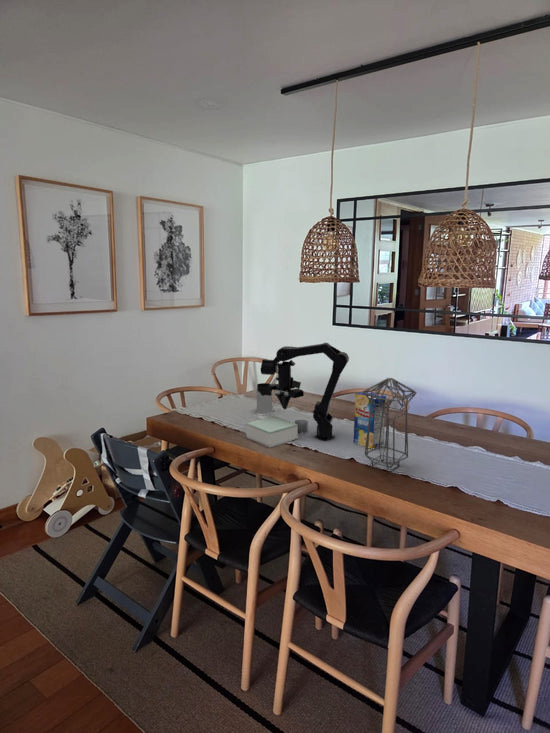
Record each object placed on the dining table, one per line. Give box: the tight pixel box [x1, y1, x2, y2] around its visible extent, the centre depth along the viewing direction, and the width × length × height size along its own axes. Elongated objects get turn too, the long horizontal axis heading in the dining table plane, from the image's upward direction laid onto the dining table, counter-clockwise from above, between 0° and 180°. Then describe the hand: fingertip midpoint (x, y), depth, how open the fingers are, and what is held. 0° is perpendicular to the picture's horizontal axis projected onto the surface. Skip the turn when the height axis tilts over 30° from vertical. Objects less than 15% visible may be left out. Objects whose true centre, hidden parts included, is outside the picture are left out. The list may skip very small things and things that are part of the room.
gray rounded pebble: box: [294, 419, 309, 434], centre depth 222 cm, size 6×6×4 cm
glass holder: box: [255, 382, 280, 416], centre depth 249 cm, size 9×14×15 cm, turn 105°
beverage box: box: [352, 391, 387, 449], centre depth 204 cm, size 7×11×22 cm, turn 38°
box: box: [245, 424, 299, 449], centre depth 212 cm, size 16×16×6 cm
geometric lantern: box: [361, 377, 417, 471], centre depth 180 cm, size 16×16×35 cm
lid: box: [245, 415, 298, 434], centre depth 211 cm, size 16×16×1 cm
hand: (284, 409), depth 217 cm, fingers closed
